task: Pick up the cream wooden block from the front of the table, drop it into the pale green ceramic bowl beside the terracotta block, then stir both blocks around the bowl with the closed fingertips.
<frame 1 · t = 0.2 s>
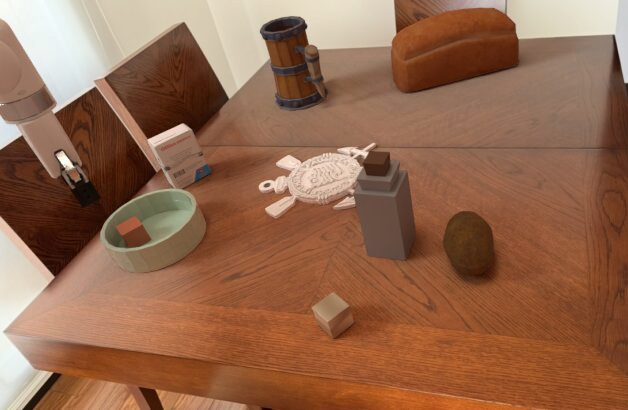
hand: (83, 191, 87), 14 cm above the table, tool pointing down, fingers open, 9 cm apart
terracotta block: (138, 240, 97), point 1 cm above the table, touching bowl
pendant: (325, 180, 104), on the table
potato: (469, 258, 81), on the table
mug: (307, 100, 134), on the table
bowl: (161, 239, 97), on the table
cream block: (336, 323, 75), on the table
ink box: (190, 179, 112), on the table
perfume bottle: (392, 245, 86), on the table
bread: (454, 72, 134), on the table
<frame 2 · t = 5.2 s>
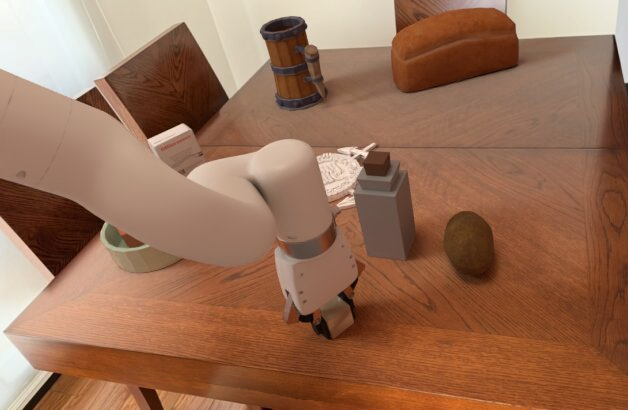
hand: (335, 322, 75), 0 cm above the table, tool pointing down, fingers closed on cream block, 4 cm apart
cream block: (336, 323, 75), on the table, touching gripper
everything else where it was.
when the fingers open (6 cm above the table, at t = 19.9 s): cream block drops 5 cm, resting on bowl.
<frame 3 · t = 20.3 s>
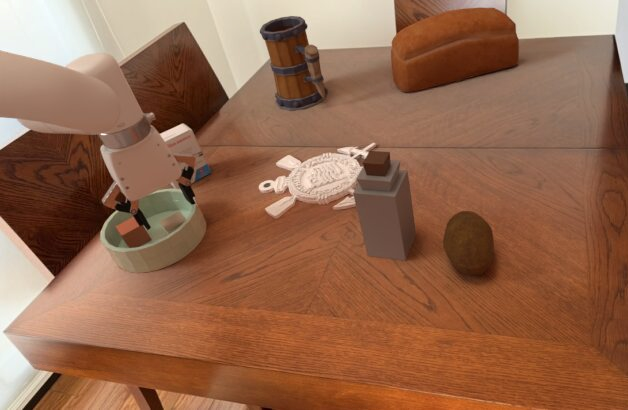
hand: (169, 213, 92), 6 cm above the table, tool pointing down, fingers open, 8 cm apart
cream block: (181, 236, 96), point 1 cm above the table, touching bowl
everything else where it was.
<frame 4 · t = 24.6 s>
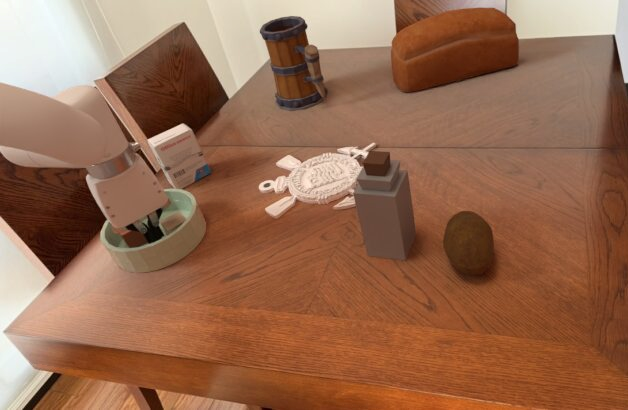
hand: (157, 241, 93), 2 cm above the table, tool pointing down, fingers closed
cream block: (181, 236, 96), point 1 cm above the table, touching bowl, gripper
everything else where it was.
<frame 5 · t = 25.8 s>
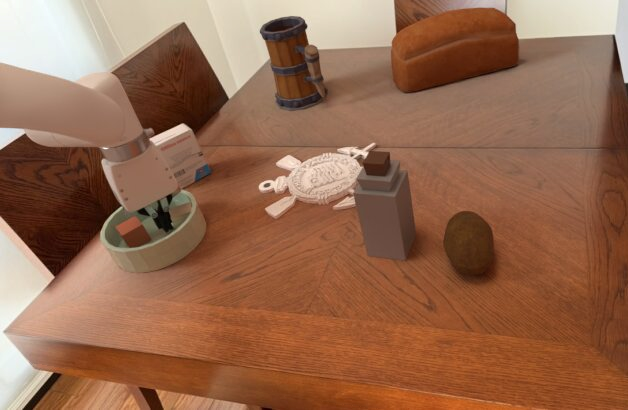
hand: (167, 227, 97), 2 cm above the table, tool pointing down, fingers closed
cream block: (189, 226, 97), point 1 cm above the table, tilted 6°, touching bowl, gripper
everything else where it was.
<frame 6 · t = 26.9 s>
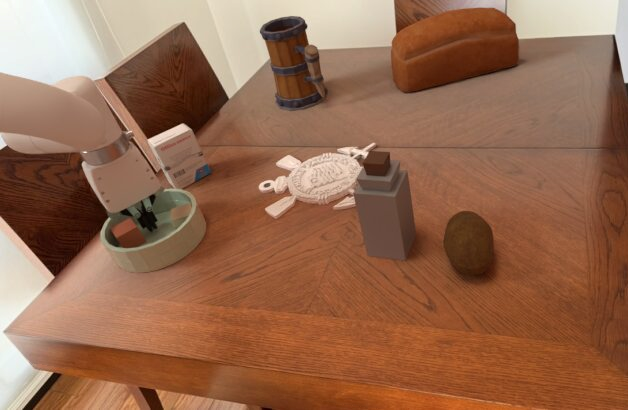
hand: (151, 226, 98), 2 cm above the table, tool pointing down, fingers closed
terracotta block: (133, 242, 96), point 1 cm above the table, touching bowl, gripper
cream block: (189, 227, 97), point 1 cm above the table, touching bowl
everything else where it was.
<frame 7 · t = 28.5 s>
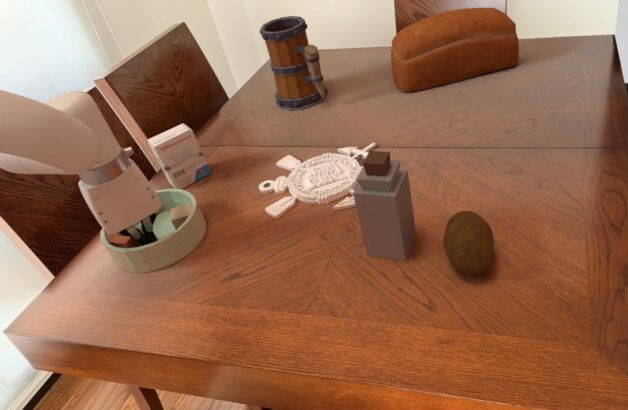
hand: (151, 247, 93), 1 cm above the table, tool pointing down, fingers closed
terracotta block: (134, 250, 94), point 1 cm above the table, touching gripper
everything else where it was.
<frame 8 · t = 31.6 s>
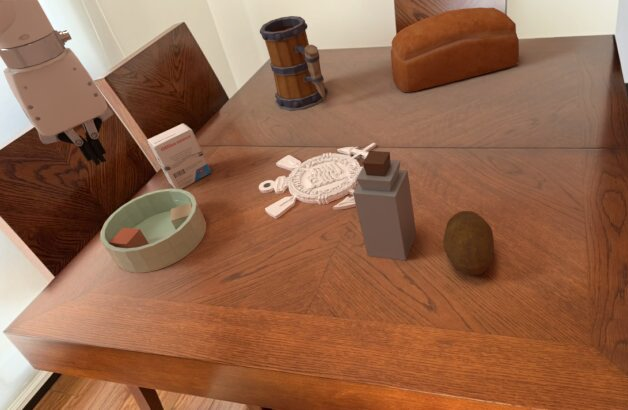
hand: (98, 160, 81), 21 cm above the table, tool pointing down, fingers closed
terracotta block: (134, 251, 94), point 1 cm above the table, touching bowl
everything else where it was.
at the end: cream block inside the target area in the bowl (5.7 cm from its centre), point 0.6 cm above the bowl's base; terracotta block inside the target area in the bowl (5.1 cm from its centre), point 0.6 cm above the bowl's base; terracotta block moved 2.9 cm from its start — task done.
